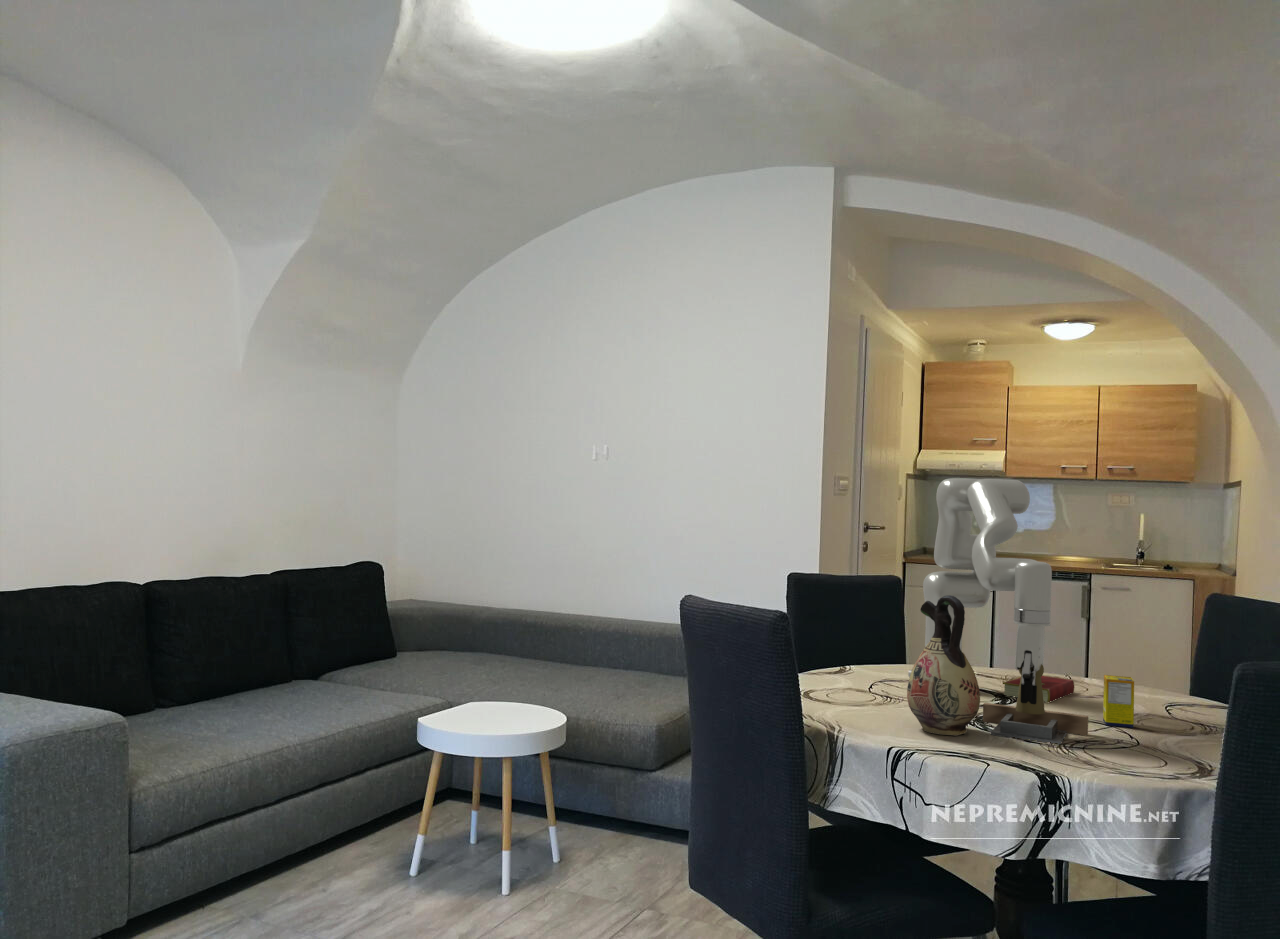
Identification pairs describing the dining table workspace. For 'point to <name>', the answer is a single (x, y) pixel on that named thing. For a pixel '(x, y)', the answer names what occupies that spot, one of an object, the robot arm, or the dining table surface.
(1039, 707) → the cork
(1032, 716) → the door edge rail
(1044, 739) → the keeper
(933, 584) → the robot arm
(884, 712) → the dining table surface
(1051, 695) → the hardcover book
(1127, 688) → the supplement box
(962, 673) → the ceramic jug
